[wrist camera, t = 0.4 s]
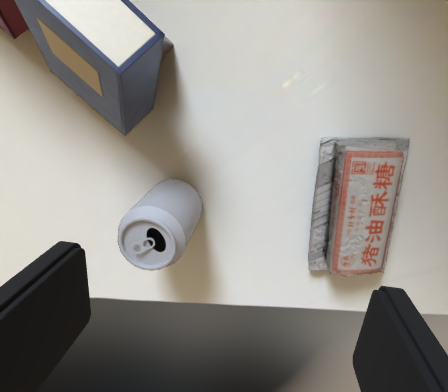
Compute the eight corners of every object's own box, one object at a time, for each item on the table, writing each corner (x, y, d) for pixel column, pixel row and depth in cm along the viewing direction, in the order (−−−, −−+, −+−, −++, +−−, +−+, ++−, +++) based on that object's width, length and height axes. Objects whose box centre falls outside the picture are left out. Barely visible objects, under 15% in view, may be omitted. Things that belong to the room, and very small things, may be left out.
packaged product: (325, 143, 32) (426, 144, 31) (318, 135, 37) (406, 136, 36) (311, 285, 39) (394, 290, 37) (306, 264, 43) (380, 268, 42)
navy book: (49, -76, 22) (-7, -39, 21) (165, 34, 24) (119, 75, 23) (82, 44, 37) (50, 71, 35) (153, 108, 38) (124, 136, 37)
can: (211, 218, 42) (192, 266, 31) (164, 233, 44) (131, 284, 33) (190, 169, 40) (161, 202, 29) (142, 187, 42) (97, 224, 31)
